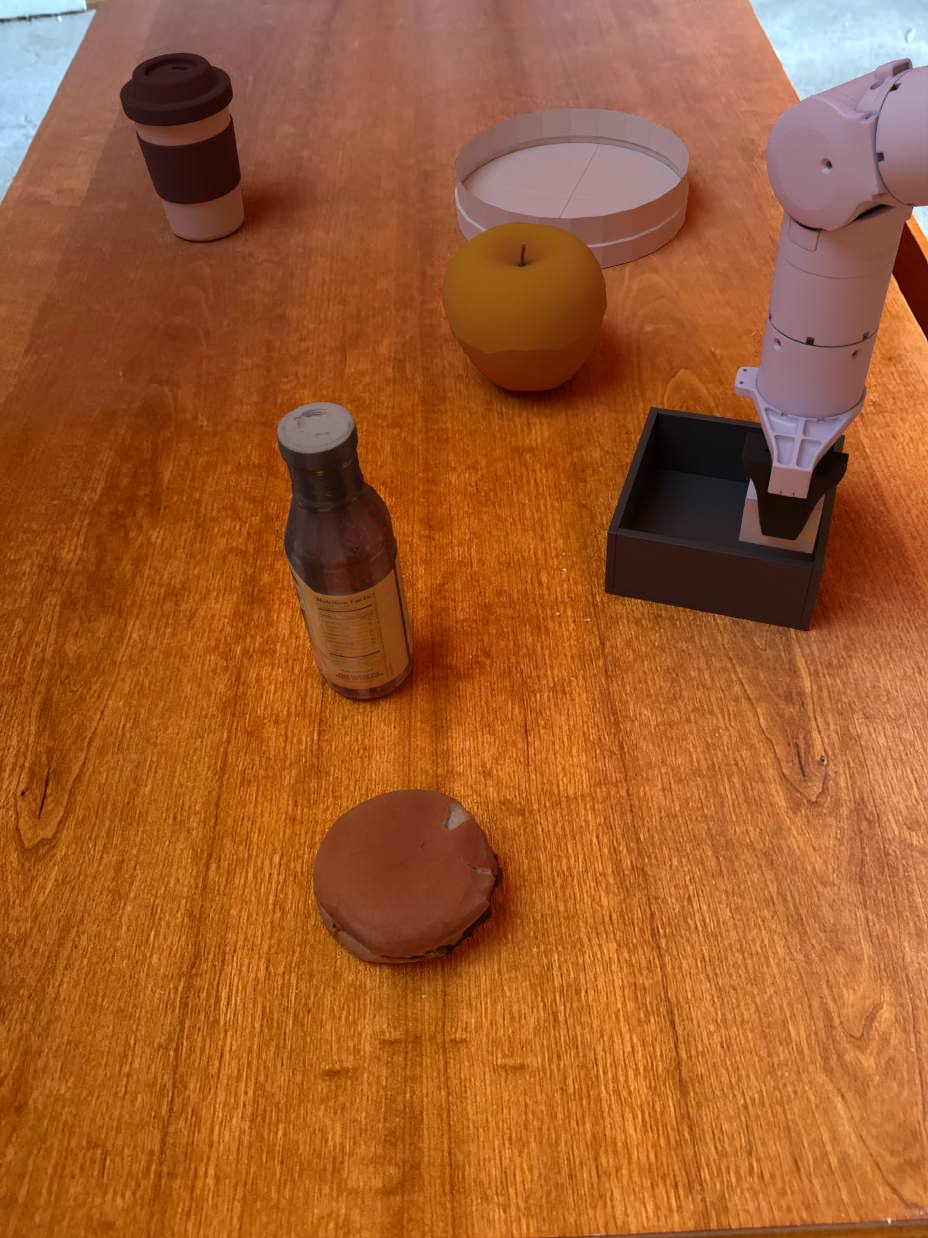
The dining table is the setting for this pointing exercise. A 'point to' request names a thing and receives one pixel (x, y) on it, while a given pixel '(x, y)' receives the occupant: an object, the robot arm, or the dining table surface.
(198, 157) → the coffee cup
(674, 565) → the bin
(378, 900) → the chocolate glazed sandwich cookie
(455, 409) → the dining table surface
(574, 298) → the apple
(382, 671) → the sauce bottle
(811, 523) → the cube
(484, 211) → the dish
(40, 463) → the dining table surface
